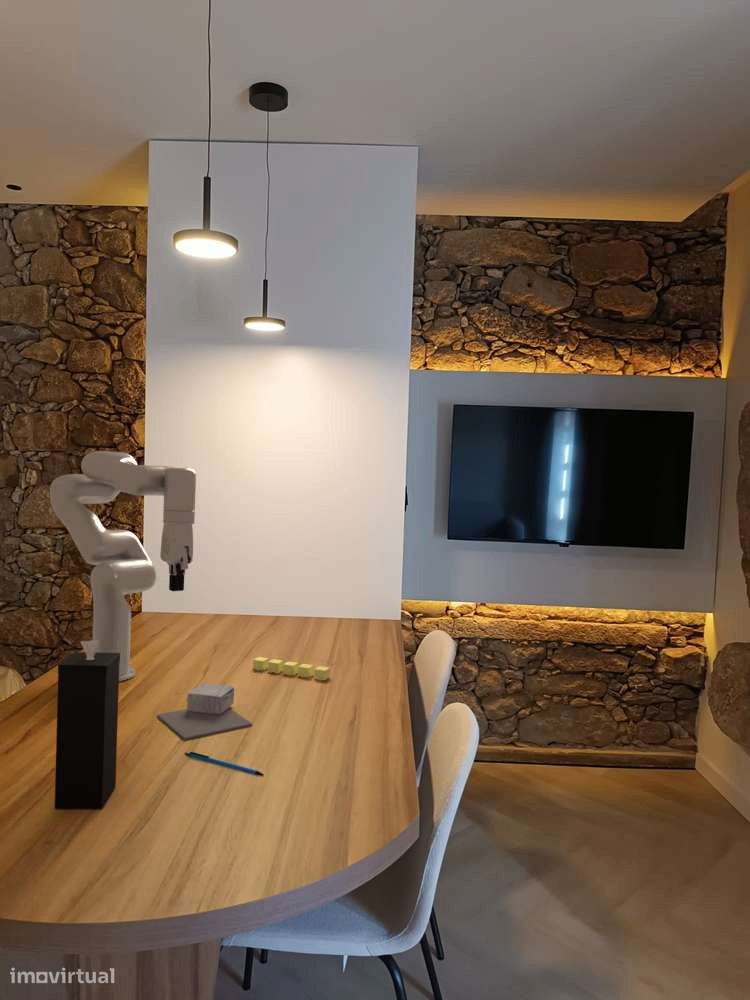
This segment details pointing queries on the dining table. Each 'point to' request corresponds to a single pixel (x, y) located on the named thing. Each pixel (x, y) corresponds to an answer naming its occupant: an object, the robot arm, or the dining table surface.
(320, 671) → the yellow cube line
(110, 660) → the tissue box
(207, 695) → the medicine box
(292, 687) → the dining table surface
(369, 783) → the dining table surface
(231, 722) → the mat
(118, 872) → the dining table surface
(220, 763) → the pen
